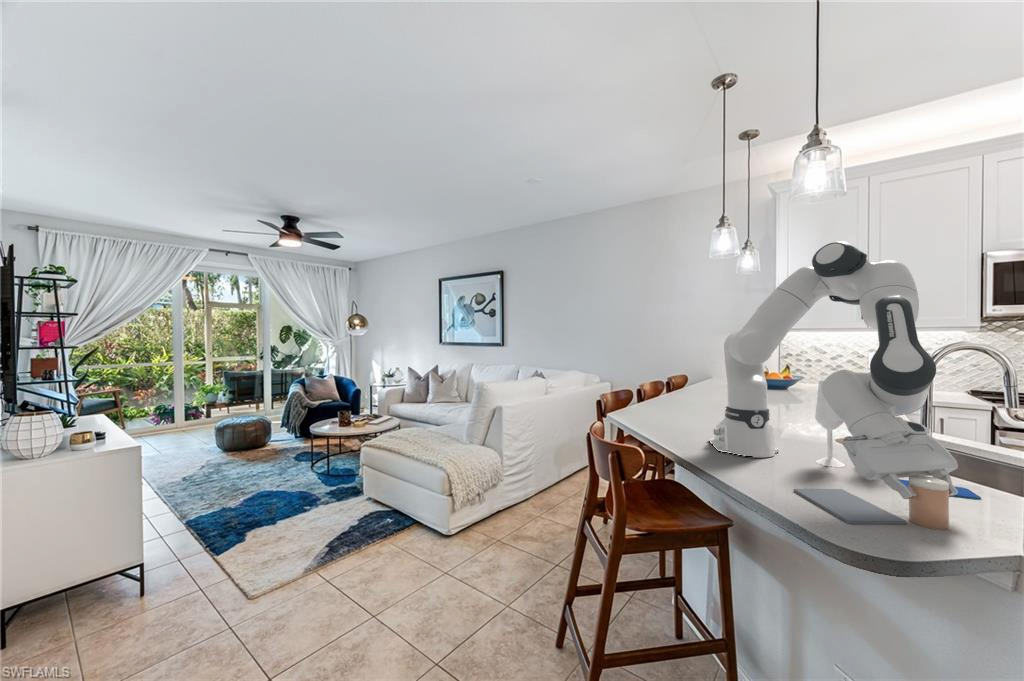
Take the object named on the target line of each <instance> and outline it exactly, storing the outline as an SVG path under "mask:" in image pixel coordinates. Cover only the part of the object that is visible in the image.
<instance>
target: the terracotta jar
mask: <svg viewBox="0 0 1024 681" xmlns="http://www.w3.org/2000/svg"><path fill="white" fill-rule="evenodd" d="M908 480H909V487H911V488H912V489H913V491H914V492H915V493H916V495H917V496H916V497H914V498H912V499H908V520H909V521H910V522H911V523H913V524H914V525H917V526H919V527H923V528H926V527H928V528H927V529H931V528H933V530H937V529H938V530H937V531H945V530H946V529H947V530H949V529H950V513H949V512H950V509H949V508H950V505H949V504H950V501H949V500H950V498H949V497H950V496H949V483H948V482H946V481H943V480H940V479H937V478H933V477H932V476H909V477H908ZM948 528H949V529H948ZM947 530H946V531H947Z"/></svg>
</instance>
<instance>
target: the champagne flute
mask: <svg viewBox="0 0 1024 681" xmlns="http://www.w3.org/2000/svg"><path fill="white" fill-rule="evenodd" d="M825 380H826V379H819V380H818V389H817V397H816V406H815V416H814V418H815V420H816V422H817V423H818V424H819V425H821V427H823V428H824V429H825V430H827V431H826V432H827V433H826V436H827V440H826V441H827V442H826V443H827V445H826V446H827V447H826V448H827V451H826V452H827V453H826V454H827V456H825V457H823V458H820V459H817V460H816V461H815V462H817V463H816V464H819V465H822V466H827V467H831V466H832V468H843V467H846V465H845V464H844V463H843V462H841V461H839V460H838V459H836V458H835V457H833V454H834V453H833V452H834V451H833V449H834V448H833V431H834V430H837V428H840V426H842V425H843V423H844V422H843V421H842V420H841V419H840V418H838V417H837V416H836V414H835V413H834V412H833V410H832V409H831V408H830V406H829V405H828V403H827V402H826V400H825V399H824V397H823V395H822V392H821V387H822V384H823V382H824V381H825Z"/></svg>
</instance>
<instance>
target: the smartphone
mask: <svg viewBox="0 0 1024 681" xmlns="http://www.w3.org/2000/svg"><path fill="white" fill-rule="evenodd" d="M898 480H899V481H900V482H901V483H903V484H904V485H905V486H906V487H909V479H902V478H899V479H898ZM953 486H954V485H953ZM954 487H955V488H956V489H957V490H958V493H957V494H955V495H953V496H951V498H952V497H954V498H962V499H971V500H977V499H981V500H982V497H981V495H980V496H979V495H978V494H976V493H975V492H973V491H972V490H970V489H968V488H966V487H962V486H954Z"/></svg>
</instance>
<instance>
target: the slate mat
mask: <svg viewBox="0 0 1024 681" xmlns="http://www.w3.org/2000/svg"><path fill="white" fill-rule="evenodd" d="M793 492H794V493H796V494H798V495H800V497H802V498H804V499H806V500H808V501H809V502H811V503H813V504H814V505H817V506H818V507H819V508H822V509H823V510H825V511H827V512H828V513H829V514H831V515H833V516H835V517H837V518H839V519H840V520H841V521H843V522H845V523H846V524H848V525H852V524H853V525H859V524H860V525H907V524H908V522H907V521H908V520H905V519H903V518H902V517H899V516H897V515H896V514H893V513H891V512H890V511H887V510H886V509H883V508H881V507H879V506H877V505H875V504H873V503H871V502H870V501H867V500H865V499H863V498H861V497H859V496H857V495H854V494H853V493H851V492H848V491H846V489H845V490H844V489H842V488H793Z"/></svg>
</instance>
